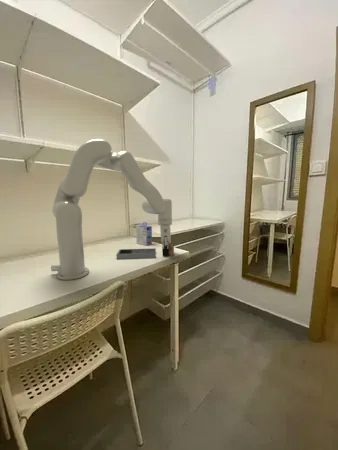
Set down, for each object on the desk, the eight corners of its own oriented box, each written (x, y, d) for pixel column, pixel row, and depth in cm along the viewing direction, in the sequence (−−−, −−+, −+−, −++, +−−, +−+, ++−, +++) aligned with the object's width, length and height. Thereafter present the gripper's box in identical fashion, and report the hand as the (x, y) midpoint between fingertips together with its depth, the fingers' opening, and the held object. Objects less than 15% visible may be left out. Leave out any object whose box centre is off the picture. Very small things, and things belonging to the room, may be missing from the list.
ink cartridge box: (152, 244, 141) (152, 222, 138) (146, 245, 136) (146, 223, 134) (142, 242, 147) (141, 221, 144) (136, 243, 142) (135, 222, 140)
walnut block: (162, 256, 114) (162, 247, 113) (162, 253, 119) (162, 245, 118) (173, 255, 115) (173, 247, 114) (173, 253, 119) (173, 244, 119)
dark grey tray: (116, 259, 110) (116, 254, 110) (119, 253, 120) (119, 249, 120) (155, 257, 111) (155, 253, 111) (155, 252, 121) (155, 248, 121)
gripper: (173, 224, 106) (173, 258, 109) (170, 219, 122) (171, 249, 125) (158, 224, 105) (159, 259, 108) (157, 219, 122) (158, 250, 125)
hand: (165, 253), depth 117 cm, fingers closed on walnut block, 5 cm apart
